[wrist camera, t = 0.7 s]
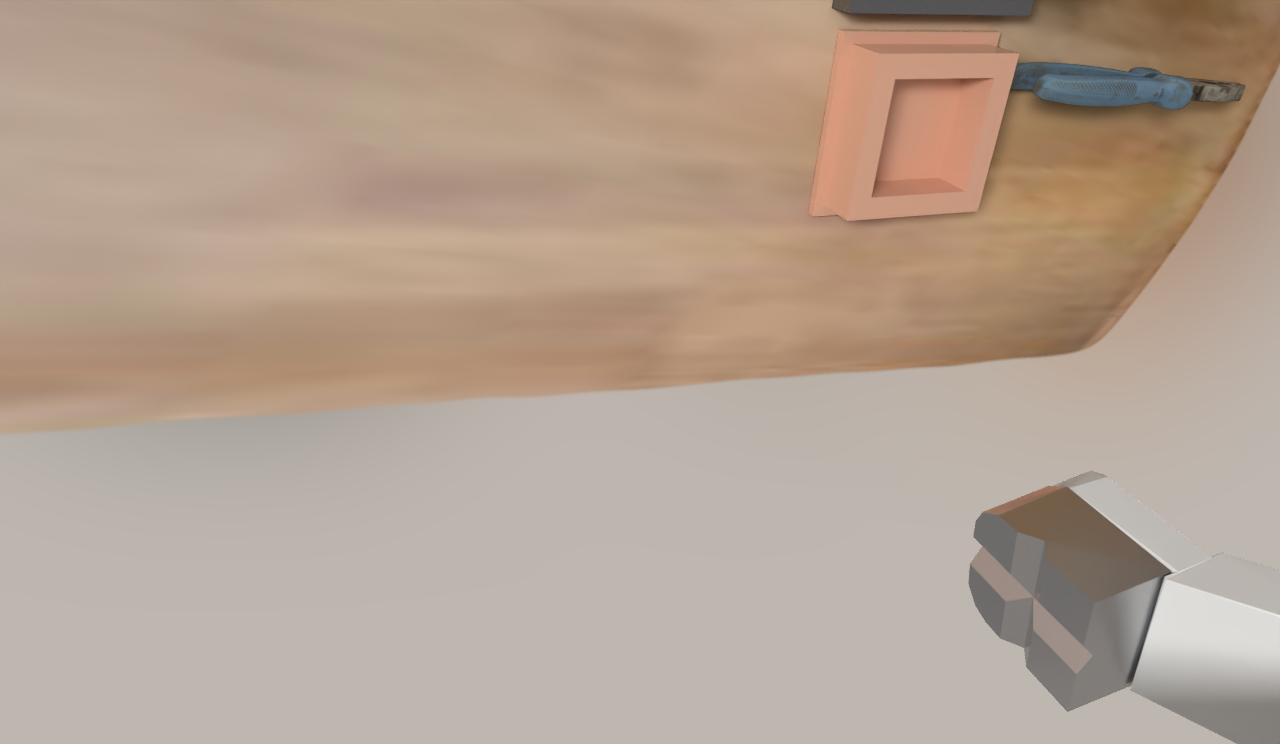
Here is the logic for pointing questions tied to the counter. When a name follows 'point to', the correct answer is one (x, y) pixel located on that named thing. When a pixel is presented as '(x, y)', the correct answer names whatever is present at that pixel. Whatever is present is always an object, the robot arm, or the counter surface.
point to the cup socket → (937, 7)
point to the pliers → (1118, 86)
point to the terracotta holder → (910, 122)
